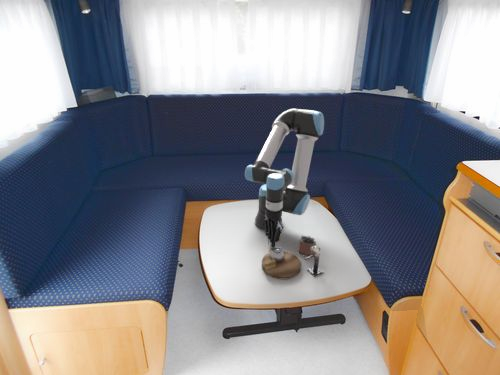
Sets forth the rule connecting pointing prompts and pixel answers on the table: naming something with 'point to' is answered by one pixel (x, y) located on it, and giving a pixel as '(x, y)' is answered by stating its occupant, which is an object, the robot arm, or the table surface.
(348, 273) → the table surface
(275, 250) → the cover
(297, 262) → the turntable
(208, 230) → the table surface
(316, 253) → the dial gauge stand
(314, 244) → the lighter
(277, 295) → the table surface
